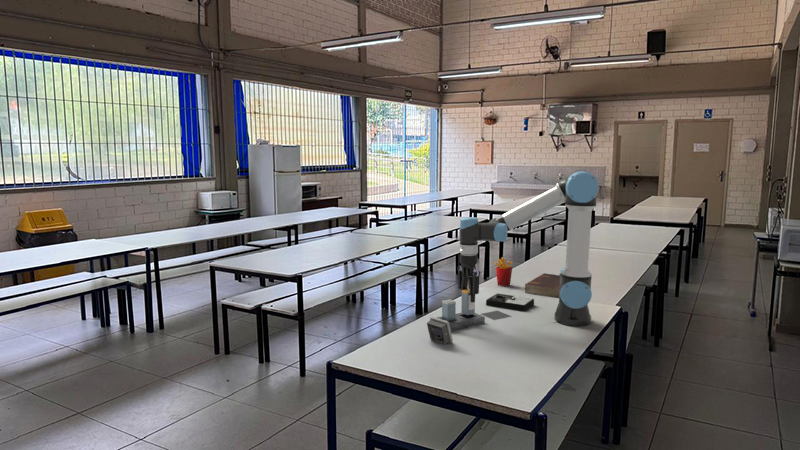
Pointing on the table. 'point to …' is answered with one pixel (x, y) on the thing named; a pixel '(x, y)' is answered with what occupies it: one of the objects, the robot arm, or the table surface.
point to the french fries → (503, 272)
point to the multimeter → (510, 302)
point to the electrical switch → (439, 330)
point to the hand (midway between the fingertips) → (468, 307)
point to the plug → (466, 303)
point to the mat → (495, 315)
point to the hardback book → (544, 285)
